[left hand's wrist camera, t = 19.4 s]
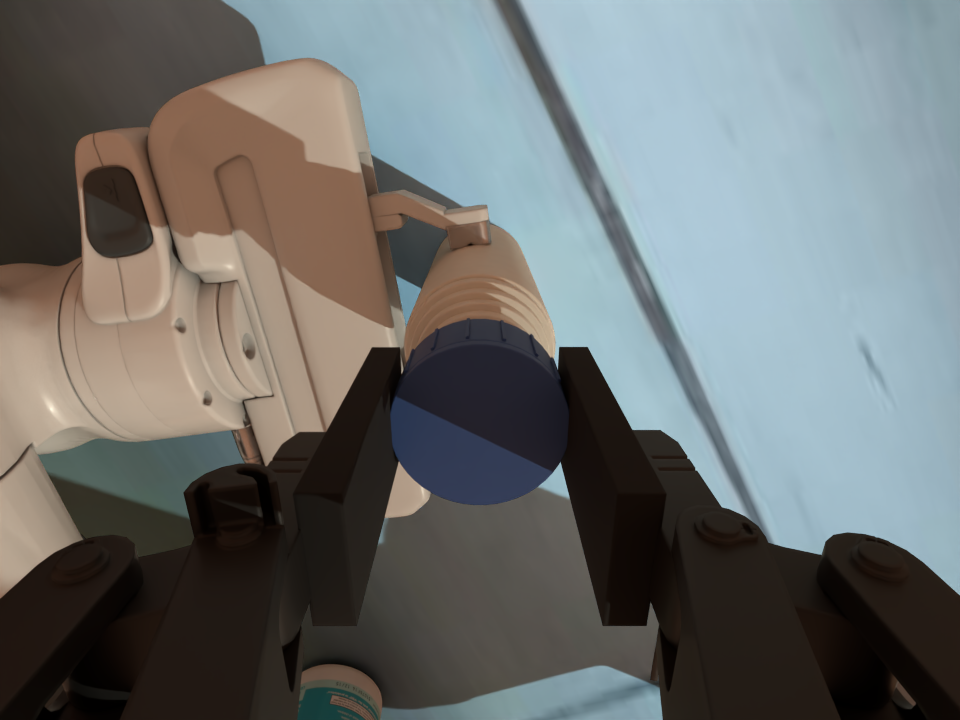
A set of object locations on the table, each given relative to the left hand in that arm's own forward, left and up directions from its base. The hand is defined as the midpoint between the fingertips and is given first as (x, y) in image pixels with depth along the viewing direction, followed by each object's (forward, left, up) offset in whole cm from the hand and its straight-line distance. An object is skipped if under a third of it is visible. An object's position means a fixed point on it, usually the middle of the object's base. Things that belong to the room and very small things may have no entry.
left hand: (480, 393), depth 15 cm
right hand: (-1, 0, -10) cm, 10 cm away
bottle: (0, 0, -16) cm, 16 cm away
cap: (0, 0, +2) cm, 2 cm away
